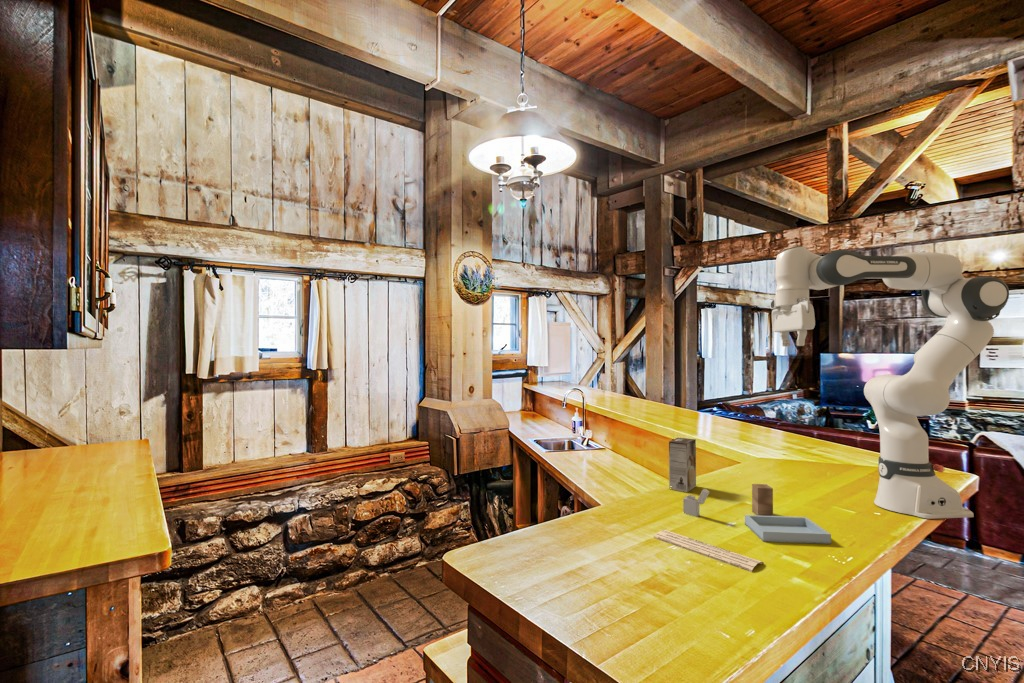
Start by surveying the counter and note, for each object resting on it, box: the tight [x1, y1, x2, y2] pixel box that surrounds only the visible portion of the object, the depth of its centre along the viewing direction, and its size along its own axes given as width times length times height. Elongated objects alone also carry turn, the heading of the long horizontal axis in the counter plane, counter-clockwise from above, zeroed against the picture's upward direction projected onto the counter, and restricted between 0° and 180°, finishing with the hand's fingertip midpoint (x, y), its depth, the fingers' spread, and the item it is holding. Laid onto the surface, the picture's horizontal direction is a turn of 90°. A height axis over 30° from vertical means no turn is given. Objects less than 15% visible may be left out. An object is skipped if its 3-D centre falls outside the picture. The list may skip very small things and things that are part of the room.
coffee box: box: [668, 437, 697, 493], centre depth 161 cm, size 9×6×16 cm
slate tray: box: [744, 514, 832, 545], centre depth 122 cm, size 16×12×2 cm
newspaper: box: [653, 529, 765, 573], centre depth 112 cm, size 24×7×2 cm, turn 41°
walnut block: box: [751, 483, 774, 516], centre depth 136 cm, size 4×4×8 cm
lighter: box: [682, 488, 710, 518], centre depth 134 cm, size 7×2×8 cm, turn 41°
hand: (793, 346), depth 145 cm, fingers open, 8 cm apart
